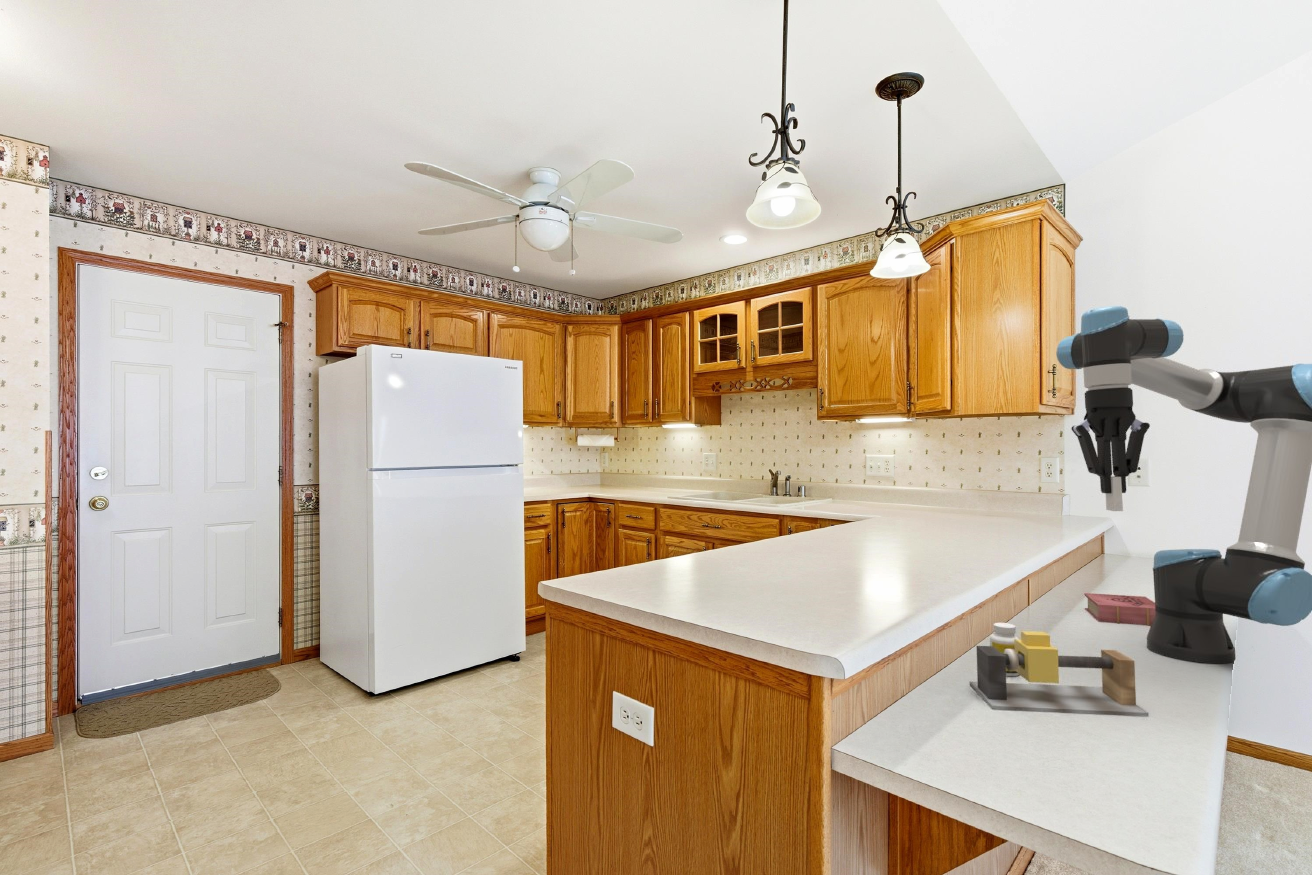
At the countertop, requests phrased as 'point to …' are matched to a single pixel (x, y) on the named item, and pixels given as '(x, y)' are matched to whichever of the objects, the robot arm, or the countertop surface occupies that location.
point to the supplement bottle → (1004, 640)
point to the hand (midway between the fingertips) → (1114, 510)
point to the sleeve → (1037, 657)
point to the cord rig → (1107, 699)
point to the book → (1121, 609)
